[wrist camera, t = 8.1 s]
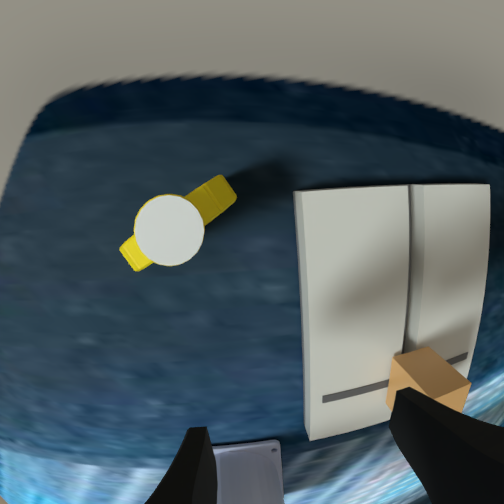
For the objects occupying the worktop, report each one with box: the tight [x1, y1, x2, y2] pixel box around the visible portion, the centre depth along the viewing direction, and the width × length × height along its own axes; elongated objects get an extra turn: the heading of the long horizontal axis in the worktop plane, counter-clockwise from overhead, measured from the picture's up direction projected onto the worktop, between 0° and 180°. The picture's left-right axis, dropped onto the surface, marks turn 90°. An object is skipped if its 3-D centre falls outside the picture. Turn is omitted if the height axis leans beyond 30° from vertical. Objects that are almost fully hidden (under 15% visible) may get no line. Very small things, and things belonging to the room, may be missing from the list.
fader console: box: [293, 183, 490, 441], centre depth 19 cm, size 17×14×2 cm
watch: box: [120, 175, 237, 271], centre depth 15 cm, size 6×3×6 cm, turn 124°
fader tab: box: [385, 346, 471, 413], centre depth 17 cm, size 4×3×7 cm
